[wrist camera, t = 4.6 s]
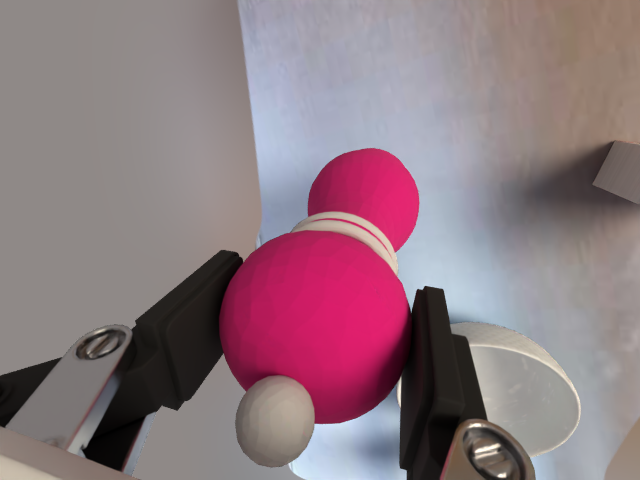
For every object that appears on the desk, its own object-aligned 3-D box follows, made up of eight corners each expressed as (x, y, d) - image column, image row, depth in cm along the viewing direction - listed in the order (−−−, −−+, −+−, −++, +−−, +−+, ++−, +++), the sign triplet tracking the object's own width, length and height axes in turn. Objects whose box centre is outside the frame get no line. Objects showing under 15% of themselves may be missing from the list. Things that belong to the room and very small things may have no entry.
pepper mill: (318, 148, 23) (42, 310, 6) (414, 133, 21) (458, 325, 3) (333, 232, 26) (180, 513, 8) (419, 227, 23) (455, 595, 6)
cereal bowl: (566, 308, 30) (607, 360, 24) (533, 414, 37) (559, 476, 31) (398, 295, 35) (397, 336, 29) (396, 391, 42) (394, 441, 36)
